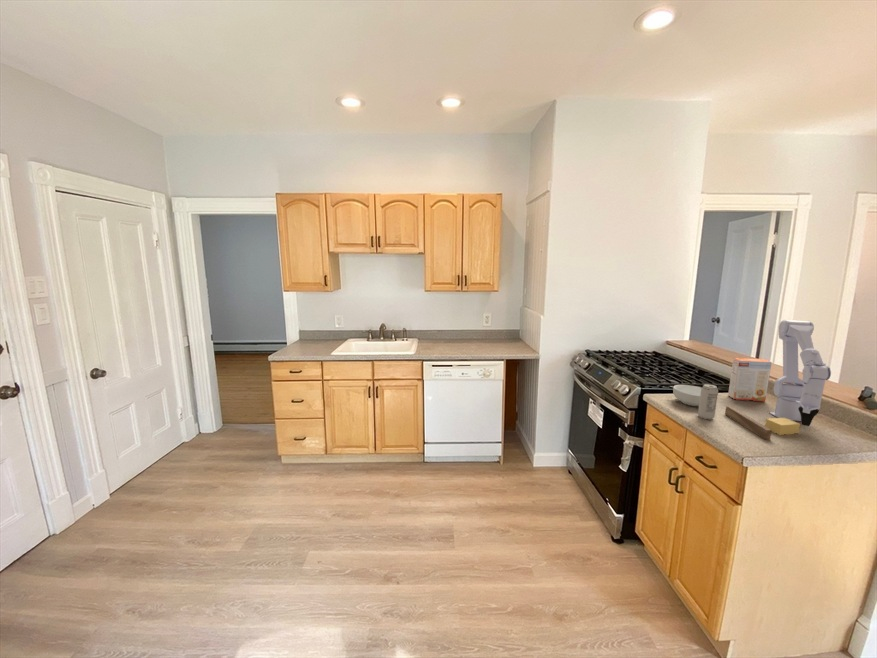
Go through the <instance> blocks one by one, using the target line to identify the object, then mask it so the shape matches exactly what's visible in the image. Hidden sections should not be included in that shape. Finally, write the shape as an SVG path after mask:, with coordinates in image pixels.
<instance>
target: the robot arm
mask: <svg viewBox="0 0 877 658" xmlns="http://www.w3.org/2000/svg"><path fill="white" fill-rule="evenodd" d="M814 328H815V325H814V323H813V322H812V321H811V320H793V319H792V320H791V319H790V320H788V319H783V320H782V321H780V323H779V325H778V339H780V340H782V376H781V377H778V378H777V379H775V381H774V385H773V394H774V395H775V396H776V397H777V398H776V404H775V409H774V411H769V412H768V413H769V414H770V415H772V416H774V417H775V418H787V419H789V420H792V421H795V422H796V421H797V422H798V421H799V422H801V423H800V424H801V425H802V426H805V427H810V425H811V424H812V422H813V420H814V418H815V417H816V416H817V415H818V414H819V412H820V409H821V403H822V400H823V399H822V398H823V394H824V389H825V384H826V381H828V380H830V378H831V374H832V371H831V368H830V367H829V365H827V364H826V363H825V362H824V361H823V358H822V357H821V354H820V351H818V350H817V349H815V348H814V343H813V339H812V335H813V333H814ZM799 348H800V350H801V352H800V353H799ZM799 356H800V359H801V361H802V364H803V368H802V379H801V378H800V377H799Z"/></svg>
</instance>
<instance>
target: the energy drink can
mask: <svg viewBox="0 0 877 658" xmlns="http://www.w3.org/2000/svg"><path fill="white" fill-rule="evenodd" d="M718 395H719V390H718V387H717V385H714V384H708V383H705V384H703V385H702V387H701V395H700V402H699V406H698V409H697V410H698V411H697V415H698V417H699V416H700V417H701V418H700V417H699V418H700V419H702V418H704V419H703V420H706V419H712V420H713V419H714V418H715V417H716V416H715V415H716V409H717V408H716V407H717V401H718Z"/></svg>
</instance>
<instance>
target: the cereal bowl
mask: <svg viewBox="0 0 877 658" xmlns="http://www.w3.org/2000/svg"><path fill="white" fill-rule="evenodd" d="M701 388H702V387H701V386H695V385H690V384H689V385H688V384H675V385H674V386H673V388H672V391H673V392H672V393H673V396H674V397H675V398H676V399H677V400H679V401H680V402H681V403H683V404H684V405H686V404H688V405H687V406H690V405H692V406H691V407H699V402H700V395H701Z"/></svg>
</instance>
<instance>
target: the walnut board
mask: <svg viewBox="0 0 877 658" xmlns="http://www.w3.org/2000/svg"><path fill="white" fill-rule="evenodd" d="M725 414H726V416H728V417H729V418H730V417H731V418H730V419H732V420H733V419H734V420H733V421H735V422H736V421H737V423H738V422H739V423H738V424H740V425H741V426H743V427H744V426H745V427H744V428H746V429H747V428H748V429H747V430H749V431H751V432H752V433H753V434H756V435H757V436H758V435H759V437H760V436H761V437H760V438H762V439H763V438H764V440H768V439H770V440H771V436H772V433H773V432H772V430H771V429H769V428H767V427H765V424H762V423H760V422H759V421H757V420H755V419H753V418H751V416H748V415H747V414H745V413H743V412H741V411H740V410H738V409H736V408H735V407H733V406H731V405H730V406H729V405H726V406H725V411H724V415H725Z"/></svg>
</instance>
